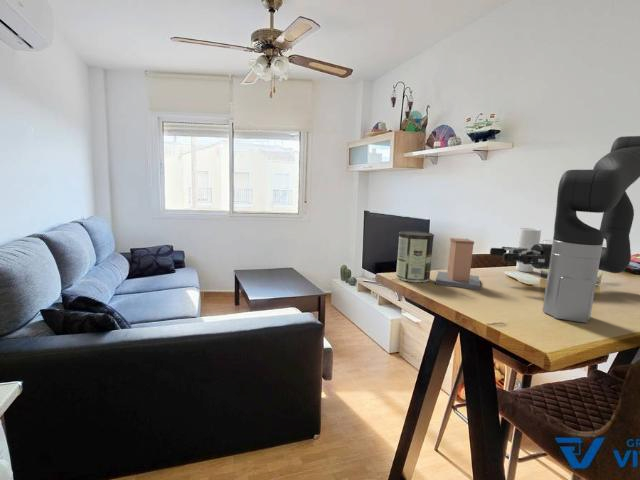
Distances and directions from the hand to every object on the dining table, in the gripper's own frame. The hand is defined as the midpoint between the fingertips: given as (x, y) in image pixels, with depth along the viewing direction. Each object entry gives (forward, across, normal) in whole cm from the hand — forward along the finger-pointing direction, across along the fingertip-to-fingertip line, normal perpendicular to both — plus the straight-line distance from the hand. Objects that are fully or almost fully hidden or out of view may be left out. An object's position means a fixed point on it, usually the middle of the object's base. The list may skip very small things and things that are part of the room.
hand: (496, 254), depth 108 cm
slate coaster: (+11, 0, +9) cm, 14 cm away
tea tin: (+11, 0, +8) cm, 13 cm away
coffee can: (+24, -2, +9) cm, 26 cm away
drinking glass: (-20, -21, +9) cm, 30 cm away
